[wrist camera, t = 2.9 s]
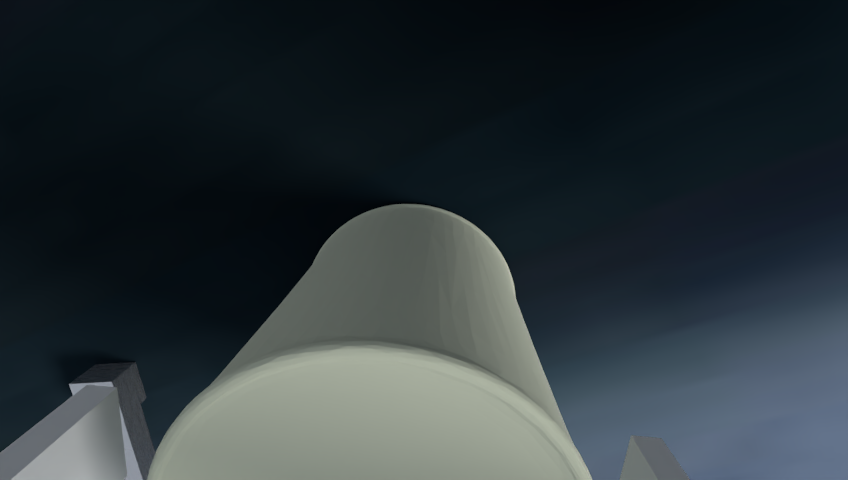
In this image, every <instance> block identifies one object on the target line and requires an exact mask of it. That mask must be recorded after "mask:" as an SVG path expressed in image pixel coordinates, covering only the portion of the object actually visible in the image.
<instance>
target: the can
mask: <svg viewBox="0 0 848 480" xmlns="http://www.w3.org/2000/svg"><path fill="white" fill-rule="evenodd" d="M147 480H592V478H591V475H590V473H589V471H588V468H587V467H586V465H585V463H584V461H583V459H582V457H581V455H580V454H579V452H578V450H577V449H576V447H575V446H574V444H573V442H572V439H571V437H570V435H569V433H568V431H567V428H566V426H565V424H564V421H563V419H562V416H561V414H560V411H559V409H558V406H557V404H556V401H555V399H554V396H553V394H552V391H551V389H550V386H549V383H548V381H547V378H546V376H545V373H544V371H543V368H542V366H541V363H540V361H539V358H538V356H537V353H536V351H535V348H534V346H533V343H532V341H531V338H530V335H529V333H528V330H527V327H526V325H525V322H524V319H523V317H522V314H521V311H520V309H519V306H518V303H517V301H516V297H515V288H514V283H513V279H512V276H511V273H510V270H509V268H508V265H507V263H506V261H505V259H504V257H503V256H502V254H501V252H500V251H499V250H498V248H497V247H496V246H495V244H494V243H493V242H492V241H491V240H490V238H489V237H488V236H487V235H486V234H485V233H484V232H482V231H481V230H480V229H479V228H477V227H476V226H475V225H473V224H472V223H471V222H469V221H467V220H466V219H464V218H462V217H460V216H458V215H456V214H454V213H452V212H449V211H446V210H444V209H441V208H437V207H433V206H428V205H421V204H395V205H389V206H384V207H380V208H376V209H373V210H370V211H367V212H365V213H363V214H360V215H358V216H357V217H355V218H353V219H351V220H350V221H348V222H347V223H345V224H344V225H343V226H341V227H340V228H339V229H338V230H336V231H335V232H334V233H333V234H332V235H331V236H330V238H329V239H328V240H327V241H326V242H325V244H324V245H323V246H322V248H321V249H320V251H319V252H318V254H317V256H316V258H315V260H314V262H313V264H312V266H311V267H310V268H309V270H308V271H307V272H306V273H305V275H304V276H303V277H302V278H301V279H300V281H299V282H298V283H297V284H296V286H295V287H294V288H293V289H292V290H291V292H290V293H289V294H288V295H287V297H286V298H285V299H284V300H283V301H282V303H281V304H280V305H279V306H278V307H277V309H276V310H275V311H274V312H273V313H272V314H271V316H270V317H269V318H268V319H267V320H266V321H265V323H264V324H263V325H262V326H261V327H260V328H259V330H258V331H257V332H256V333H255V334H254V335H253V336H252V338H251V339H250V340H249V341H248V342H247V343H246V345H245V346H244V347H243V348H242V349H241V350H240V352H239V353H238V354H237V355H236V356H235V357H234V359H233V360H232V361H231V362H230V363H229V364H228V366H227V367H226V368H225V369H224V370H223V371H222V373H221V374H220V375H219V376H218V377H217V378H216V379H215V380H214V381H213V382H212V383H211V385H210V386H208V387H207V388H206V389H205V390H203V391H202V392H201V393H200V394H199V395H197V396H196V397H195V398H194V399H193V400H192V401H191V402H190V403H189V404H188V405H187V406H186V407H185V408H184V410H183V411H182V412H181V413H180V415H179V416H178V417H177V418H176V420H175V421H174V422H173V423H172V425H171V426H170V428H169V429H168V431H167V432H166V434H165V436H164V437H163V439H162V441H161V443H160V445H159V447H158V449H157V451H156V453H155V456H154V458H153V461H152V464H151V466H150V469H149V474H148V478H147Z"/></svg>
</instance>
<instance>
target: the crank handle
mask: <svg viewBox="0 0 848 480" xmlns="http://www.w3.org/2000/svg"><path fill="white" fill-rule="evenodd" d="M86 385H96V386H107V387H117V391H118V399H119V408H120V416H121V425H122V434H123V442H124V451H125V460H126V468H127V476H126V478H125V479H124V480H147V478H148V474H149V469H150V466H151V464H152V461H153V458H154V456H155V450H154V447H153V444H152V441H151V437H150V434H149V431H148V427H147V424H146V421H145V418H144V414H143V411H142V408H141V405H140V404H141V403H142V402H143V401H144V400H145V399H146V395H145V392H144V388H143V385H142V382H141V378H140V375H139V372H138V368H137V365H136V362H127V363H109V364H95V365H94V366H93V367H91V368H90V369H89V370H87V371H86V372H84V373H83V374H82V375H80V376H79V377H78V378H76V379H75V380H74V381H72V382H71V383H70V384H69V386H70V389H71V392H72V394H73V395H74V394H76V393H77V392H78V391H80V390H81V389H82V388H83V387H85V386H86Z"/></svg>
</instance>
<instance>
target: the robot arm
mask: <svg viewBox="0 0 848 480" xmlns="http://www.w3.org/2000/svg"><path fill="white" fill-rule="evenodd" d="M126 476H127V468H126V460H125V451H124V442H123V434H122V425H121V416H120V408H119V399H118V391H117V387H107V386H96V385H86V386H85V387H83V388H82V389H81V390H80V391H78V392H77V393H76V394H74V395H73V396H72V397H71V398H69V399H68V400H67V401H66V402H64V403H63V404H62V405H60V406H59V407H58V408H57V409H55V410H54V411H53V412H52V413H50V414H49V415H48V416H46V417H45V418H44V419H43V420H41V421H40V422H39V423H37V424H36V425H35V426H34V427H32V428H31V429H30V430H29V431H27V432H26V433H25V434H23V435H22V436H21V437H20V438H18V439H17V440H16V441H15V442H13V443H12V444H11V445H9V446H8V447H7V448H6V449H4V450H3V451H2V452H0V480H124V479H125V478H126ZM620 480H690V479H689V478H688V476H687V475H686V473H685V472H684V470H683V469H682V468H681V466H680V465H679V463H678V462H677V460H676V459H675V457H674V456H673V455H672V453H671V452H670V450H669V449H668V447H667V446H666V444H665V443H664V442H663V440H662V439H661V438H653V437H643V436H632V435H631V438H630V442H629V446H628V450H627V454H626V457H625V461H624V465H623V469H622V473H621V476H620Z"/></svg>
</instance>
